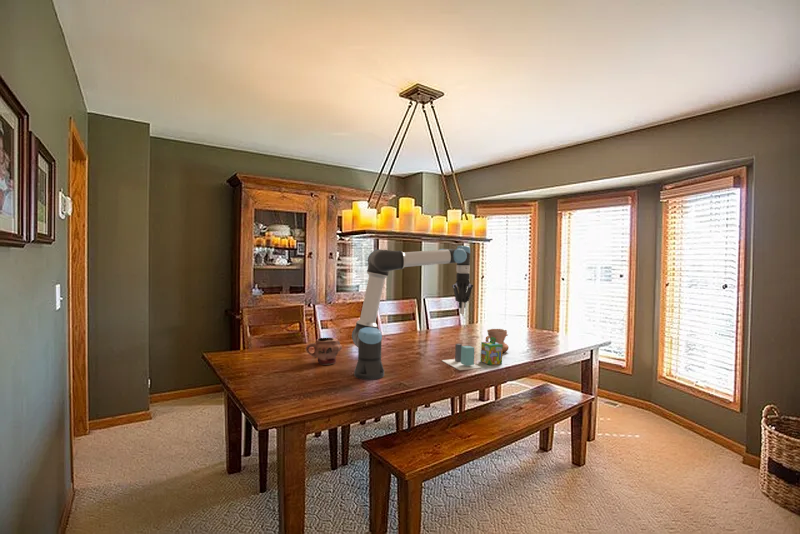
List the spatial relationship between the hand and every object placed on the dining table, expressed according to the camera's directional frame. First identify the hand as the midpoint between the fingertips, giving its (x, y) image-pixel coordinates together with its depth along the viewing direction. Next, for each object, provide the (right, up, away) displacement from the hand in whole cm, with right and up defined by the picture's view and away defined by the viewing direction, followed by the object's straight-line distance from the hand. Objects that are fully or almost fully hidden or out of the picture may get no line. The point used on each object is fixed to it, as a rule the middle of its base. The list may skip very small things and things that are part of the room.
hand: (461, 313), depth 237 cm
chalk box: (+17, -29, +2) cm, 34 cm away
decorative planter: (-78, -27, -8) cm, 83 cm away
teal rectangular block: (+2, -27, -8) cm, 28 cm away
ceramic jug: (+27, -28, +29) cm, 49 cm away
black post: (-2, -28, +1) cm, 28 cm away
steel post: (+2, -29, -8) cm, 30 cm away
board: (-1, -29, -4) cm, 29 cm away
